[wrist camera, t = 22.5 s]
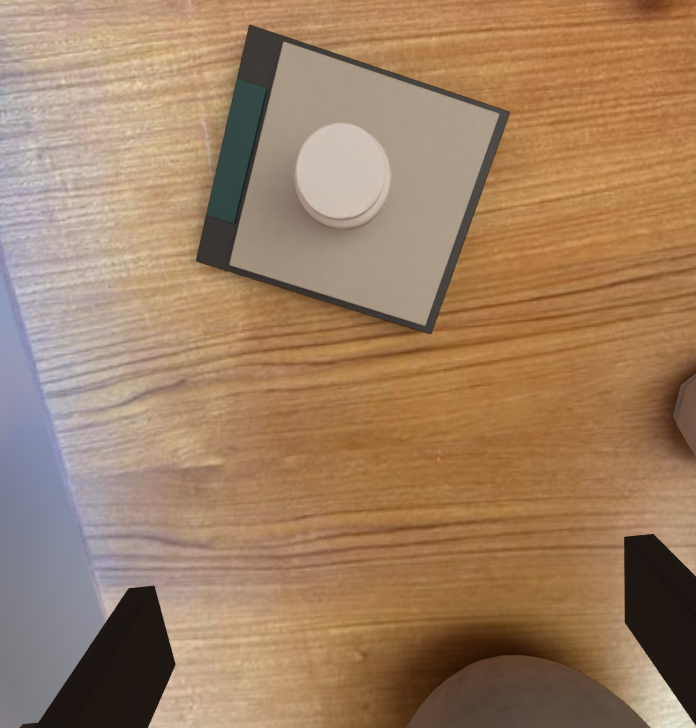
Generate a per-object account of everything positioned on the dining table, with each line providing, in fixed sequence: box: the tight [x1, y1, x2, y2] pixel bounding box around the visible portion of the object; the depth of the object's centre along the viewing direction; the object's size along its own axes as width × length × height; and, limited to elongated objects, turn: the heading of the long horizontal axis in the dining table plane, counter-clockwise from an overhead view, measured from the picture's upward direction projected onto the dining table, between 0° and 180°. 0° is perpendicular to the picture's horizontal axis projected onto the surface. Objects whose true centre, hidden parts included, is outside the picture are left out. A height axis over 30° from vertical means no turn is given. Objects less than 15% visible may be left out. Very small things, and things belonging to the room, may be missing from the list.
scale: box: [196, 25, 510, 334], centre depth 31 cm, size 16×14×3 cm
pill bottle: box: [294, 123, 392, 230], centre depth 26 cm, size 5×5×8 cm
